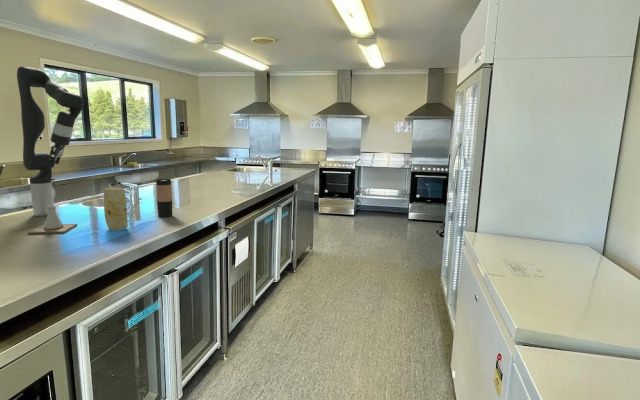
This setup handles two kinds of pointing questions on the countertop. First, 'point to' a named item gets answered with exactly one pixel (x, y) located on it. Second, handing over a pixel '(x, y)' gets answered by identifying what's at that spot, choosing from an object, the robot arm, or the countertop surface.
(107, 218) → the food model
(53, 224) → the flask
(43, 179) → the robot arm
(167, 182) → the travel mug
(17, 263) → the countertop surface
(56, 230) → the walnut board
